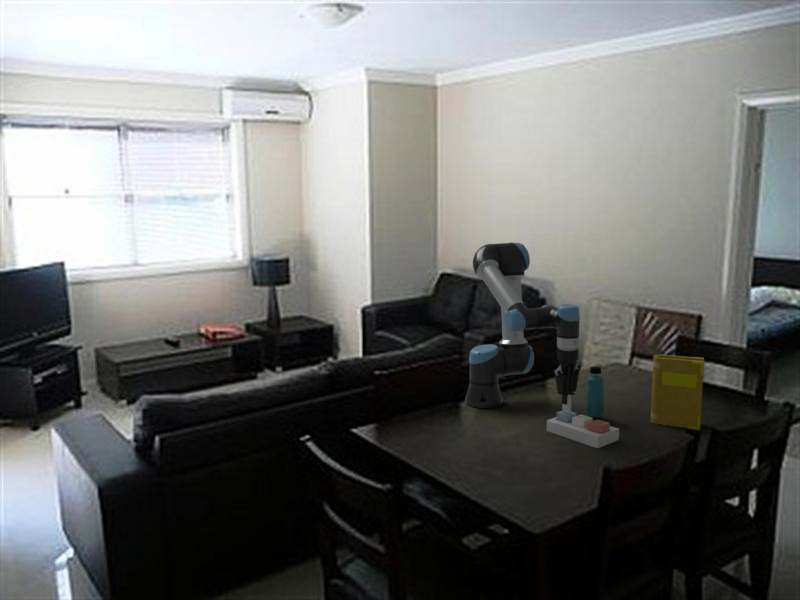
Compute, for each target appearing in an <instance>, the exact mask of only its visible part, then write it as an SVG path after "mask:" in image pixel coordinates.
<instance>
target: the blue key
mask: <svg viewBox="0 0 800 600" xmlns="http://www.w3.org/2000/svg"><path fill="white" fill-rule="evenodd" d="M555 414H556V416H555V417H556V420H558V421H561V422H565V423H571V422H572V417H575V416H577V414H578V413H577V412H574V411H572V410H571V413H565V412H562V410H559V411H557V412H556V413H555Z"/></svg>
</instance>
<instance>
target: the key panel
mask: <svg viewBox="0 0 800 600" xmlns="http://www.w3.org/2000/svg"><path fill="white" fill-rule="evenodd" d="M546 432H549V433H552V434H554V435H557V436H560V437H562V438H567V439H569V440H571V441H573V442H574V441H575V442H578V443H581V444H584V445H587V446H590V447H592V448H594V449H595V448H596V449H600V448H602V447H605V446H606V445H610V444H612V443H615V442H617V441H619V440H620V439H619V438H620V429H619V428H618V427H614V426H611V425H610V426H609V431H608V432H605V433H603V434H599V433H595V432H592V431H589V430H588V427H587V428H585V429H583V428H580V427H577V426H574V425H572V422H571V423H565V422H561V421H558V420H556V416H555V417H553V418H550V419H547V420H546Z"/></svg>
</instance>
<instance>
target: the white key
mask: <svg viewBox="0 0 800 600" xmlns="http://www.w3.org/2000/svg"><path fill="white" fill-rule="evenodd" d="M593 418H594V417H591V416H588V415H584V414H578V415H576V416H575V417H572V425H574V426H577V427H580V428H583V429H585V428H587V427H588V424H589V422H591V421H594V419H593Z"/></svg>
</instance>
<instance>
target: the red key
mask: <svg viewBox="0 0 800 600" xmlns="http://www.w3.org/2000/svg"><path fill="white" fill-rule="evenodd" d="M609 426H611V425H610V422H608V421H604V420H600V419H595V420H594V419H593V421H591V422H589V424H588V430H589V431H592V432H595V433H599V434H603V433H605V432H608V431H609Z"/></svg>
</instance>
